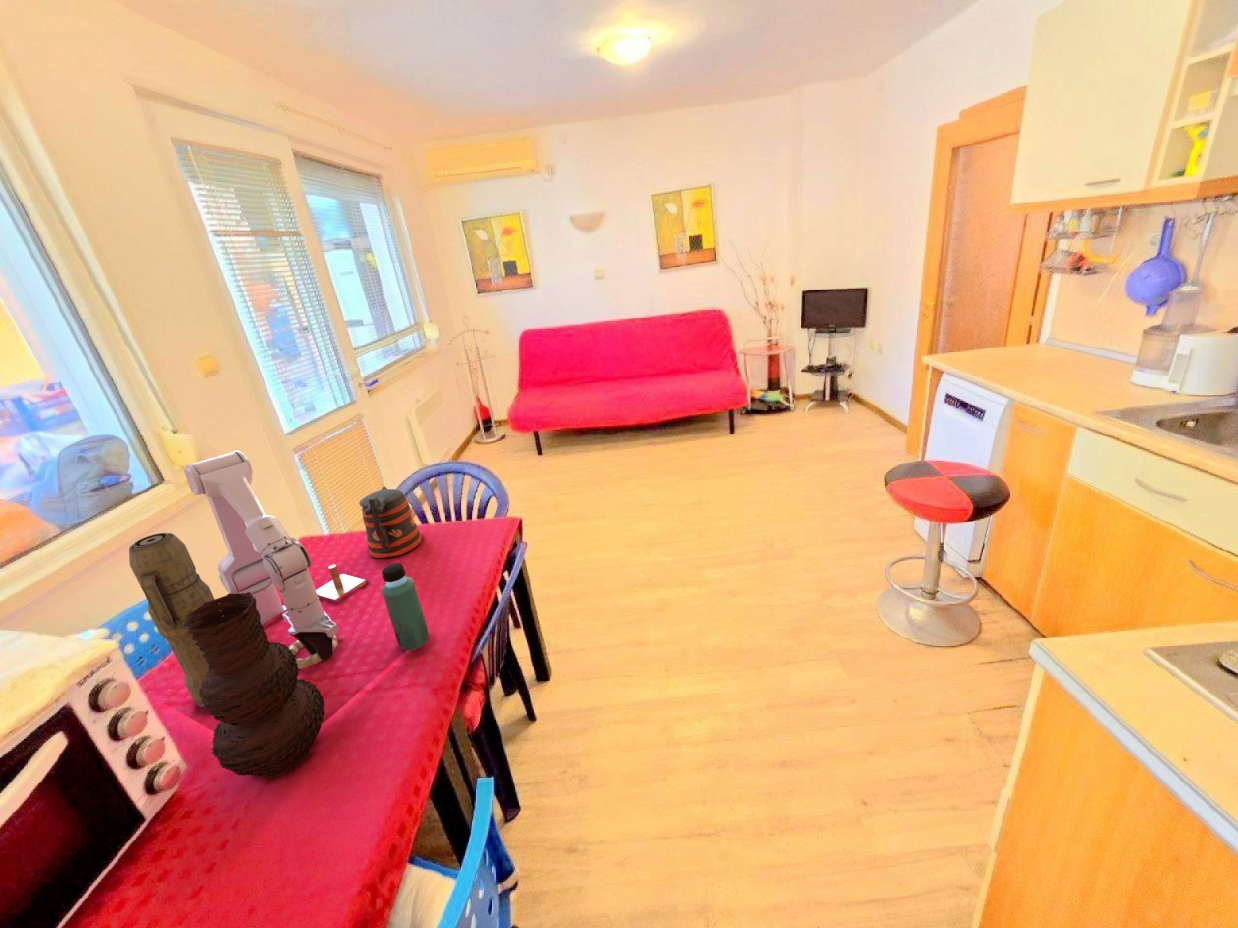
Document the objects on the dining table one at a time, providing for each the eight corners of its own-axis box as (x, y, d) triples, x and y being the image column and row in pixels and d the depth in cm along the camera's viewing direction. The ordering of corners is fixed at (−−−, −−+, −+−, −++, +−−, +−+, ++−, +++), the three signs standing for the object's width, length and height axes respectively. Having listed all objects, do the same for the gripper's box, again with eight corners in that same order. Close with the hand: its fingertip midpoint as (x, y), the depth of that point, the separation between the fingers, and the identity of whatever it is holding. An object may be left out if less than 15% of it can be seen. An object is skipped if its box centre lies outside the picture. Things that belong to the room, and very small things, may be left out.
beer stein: (420, 559, 141) (403, 495, 134) (364, 572, 138) (343, 507, 130) (422, 529, 158) (407, 471, 151) (372, 540, 154) (354, 480, 147)
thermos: (258, 666, 106) (193, 519, 93) (245, 706, 96) (170, 547, 83) (208, 681, 103) (133, 531, 90) (188, 725, 93) (101, 563, 80)
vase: (324, 781, 80) (259, 628, 69) (213, 814, 76) (126, 658, 65) (344, 707, 94) (293, 570, 83) (251, 732, 90) (185, 592, 79)
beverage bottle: (438, 639, 109) (417, 560, 102) (415, 660, 104) (390, 579, 96) (416, 632, 112) (393, 555, 105) (392, 653, 106) (367, 573, 99)
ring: (273, 665, 106) (269, 656, 105) (318, 634, 115) (315, 625, 114) (304, 679, 102) (301, 669, 101) (349, 644, 110) (346, 636, 109)
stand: (312, 596, 129) (304, 572, 126) (343, 577, 136) (336, 554, 134) (336, 603, 125) (327, 579, 122) (366, 583, 132) (359, 560, 130)
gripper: (259, 605, 101) (282, 659, 106) (306, 621, 94) (327, 677, 99) (293, 585, 106) (313, 637, 111) (339, 599, 100) (358, 653, 105)
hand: (322, 654), depth 106 cm, fingers closed on ring, 3 cm apart
